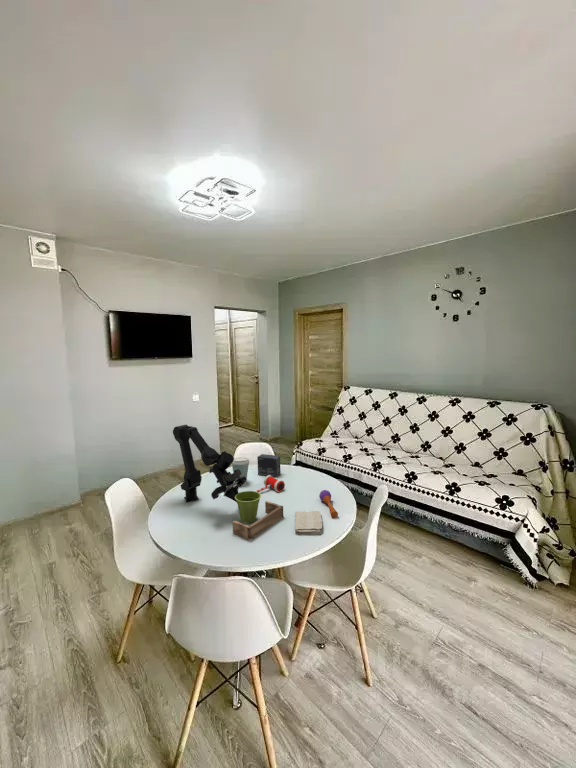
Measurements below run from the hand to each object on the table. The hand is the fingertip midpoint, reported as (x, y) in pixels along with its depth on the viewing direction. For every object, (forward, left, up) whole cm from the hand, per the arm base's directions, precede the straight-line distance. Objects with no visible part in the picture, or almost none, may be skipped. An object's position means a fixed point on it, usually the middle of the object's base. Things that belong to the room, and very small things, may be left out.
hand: (239, 502), depth 149 cm
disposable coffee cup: (-38, +14, -7) cm, 42 cm away
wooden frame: (+10, +5, -7) cm, 14 cm away
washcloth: (+21, +24, -8) cm, 33 cm away
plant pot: (+4, +3, -7) cm, 9 cm away
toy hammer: (-20, +22, -8) cm, 31 cm away
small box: (-42, +34, -7) cm, 55 cm away
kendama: (+13, +41, -8) cm, 44 cm away
